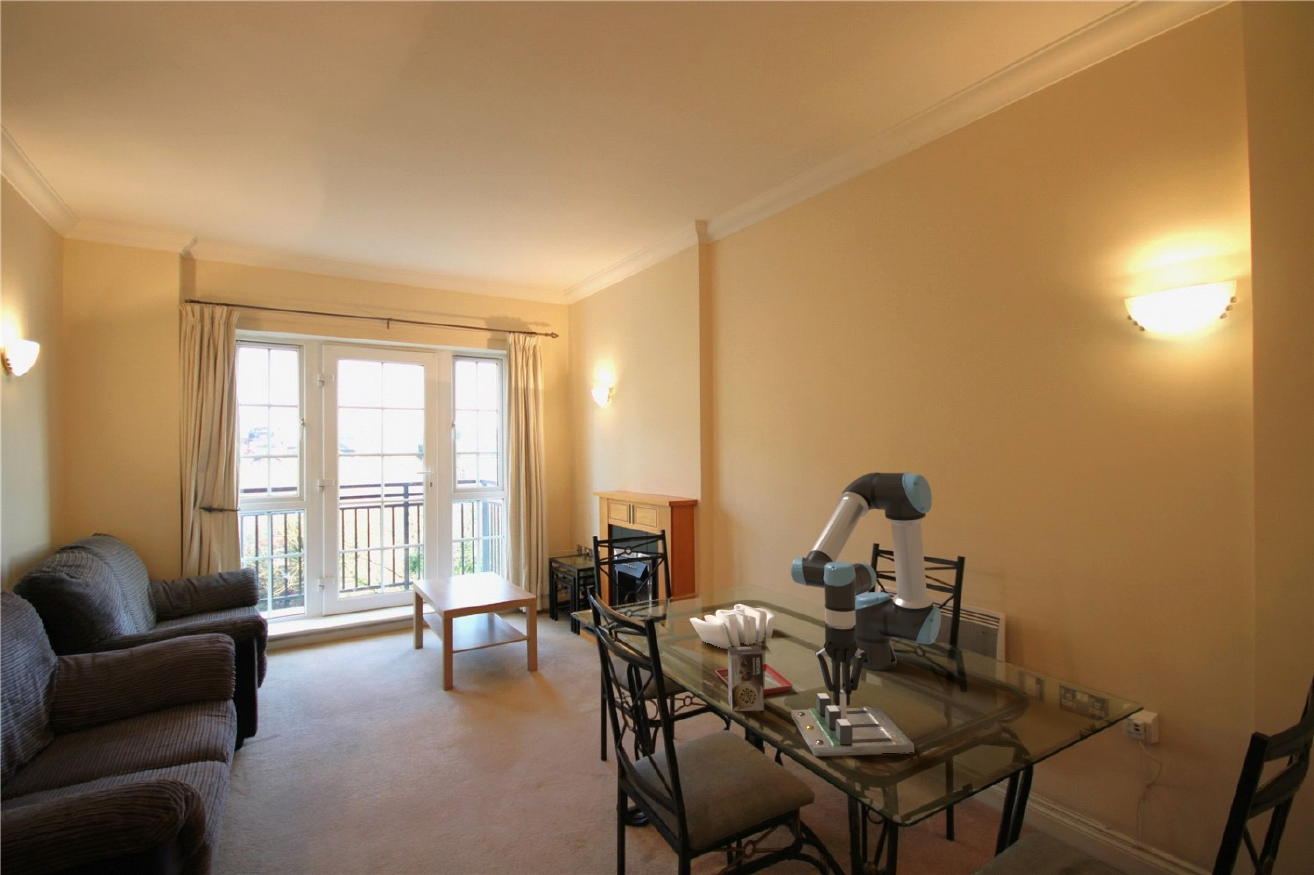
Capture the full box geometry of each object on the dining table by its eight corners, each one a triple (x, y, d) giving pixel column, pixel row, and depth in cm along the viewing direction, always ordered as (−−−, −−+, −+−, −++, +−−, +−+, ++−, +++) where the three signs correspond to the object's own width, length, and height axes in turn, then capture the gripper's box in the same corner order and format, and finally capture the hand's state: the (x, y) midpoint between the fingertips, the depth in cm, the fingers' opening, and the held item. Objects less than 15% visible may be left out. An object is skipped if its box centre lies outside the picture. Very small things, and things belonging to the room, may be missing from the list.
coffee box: (759, 701, 169) (758, 645, 169) (764, 712, 163) (763, 653, 163) (727, 702, 169) (727, 646, 169) (731, 712, 162) (730, 653, 163)
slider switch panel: (878, 714, 160) (878, 705, 160) (914, 752, 140) (914, 741, 140) (791, 717, 159) (791, 707, 159) (814, 756, 139) (814, 745, 139)
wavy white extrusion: (710, 653, 209) (710, 623, 209) (686, 640, 223) (686, 612, 223) (787, 637, 226) (786, 609, 226) (759, 626, 240) (759, 600, 240)
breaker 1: (827, 709, 159) (827, 693, 159) (831, 714, 156) (830, 697, 156) (816, 710, 159) (816, 693, 159) (819, 715, 156) (819, 698, 156)
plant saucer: (737, 703, 169) (737, 692, 169) (714, 680, 186) (714, 669, 186) (794, 696, 174) (794, 684, 174) (766, 673, 191) (766, 663, 191)
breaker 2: (847, 737, 144) (847, 718, 144) (852, 743, 141) (852, 724, 141) (835, 737, 144) (835, 719, 144) (840, 743, 141) (840, 725, 141)
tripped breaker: (836, 722, 151) (836, 705, 151) (841, 728, 148) (840, 710, 148) (825, 723, 151) (825, 705, 151) (829, 728, 148) (829, 711, 148)
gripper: (859, 619, 154) (861, 710, 154) (810, 620, 154) (811, 711, 153) (871, 628, 147) (873, 723, 146) (819, 629, 146) (821, 725, 146)
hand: (841, 717), depth 150 cm, fingers closed
